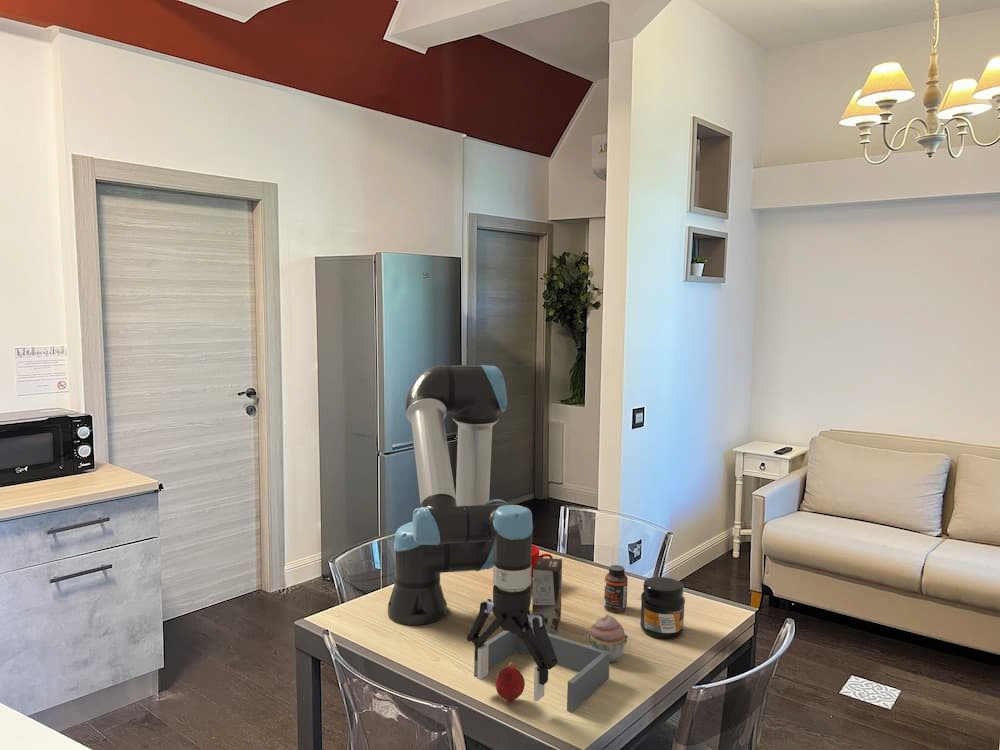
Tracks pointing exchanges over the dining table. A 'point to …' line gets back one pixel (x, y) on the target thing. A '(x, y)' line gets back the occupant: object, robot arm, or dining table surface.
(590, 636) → the cupcake
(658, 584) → the supplement container
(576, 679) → the open u-shaped frame
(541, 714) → the dining table surface
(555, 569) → the coffee box
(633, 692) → the dining table surface
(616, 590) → the supplement bottle
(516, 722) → the dining table surface
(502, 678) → the onion
